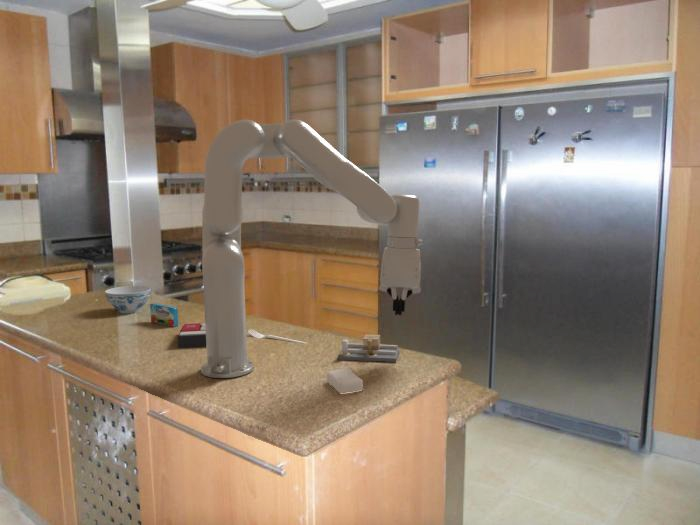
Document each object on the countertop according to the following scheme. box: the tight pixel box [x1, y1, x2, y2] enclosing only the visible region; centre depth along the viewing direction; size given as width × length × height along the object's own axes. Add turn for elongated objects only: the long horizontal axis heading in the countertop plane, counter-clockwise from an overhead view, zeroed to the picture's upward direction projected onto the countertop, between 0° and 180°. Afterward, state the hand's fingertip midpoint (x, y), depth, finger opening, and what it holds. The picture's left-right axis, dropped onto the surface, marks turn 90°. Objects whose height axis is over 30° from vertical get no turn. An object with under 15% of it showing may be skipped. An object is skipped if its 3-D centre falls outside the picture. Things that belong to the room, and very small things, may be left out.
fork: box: [247, 328, 307, 344], centre depth 169 cm, size 3×20×2 cm, turn 62°
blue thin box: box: [149, 302, 179, 328], centre depth 187 cm, size 12×2×6 cm, turn 54°
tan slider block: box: [362, 334, 381, 354], centre depth 152 cm, size 7×4×4 cm, turn 170°
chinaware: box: [104, 285, 152, 314], centre depth 205 cm, size 15×15×8 cm
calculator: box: [177, 322, 206, 349], centre depth 169 cm, size 11×4×15 cm
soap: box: [326, 368, 364, 394], centre depth 130 cm, size 9×6×3 cm, turn 22°
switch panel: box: [337, 339, 400, 363], centre depth 152 cm, size 9×15×4 cm, turn 80°
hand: (398, 313), depth 151 cm, fingers closed
